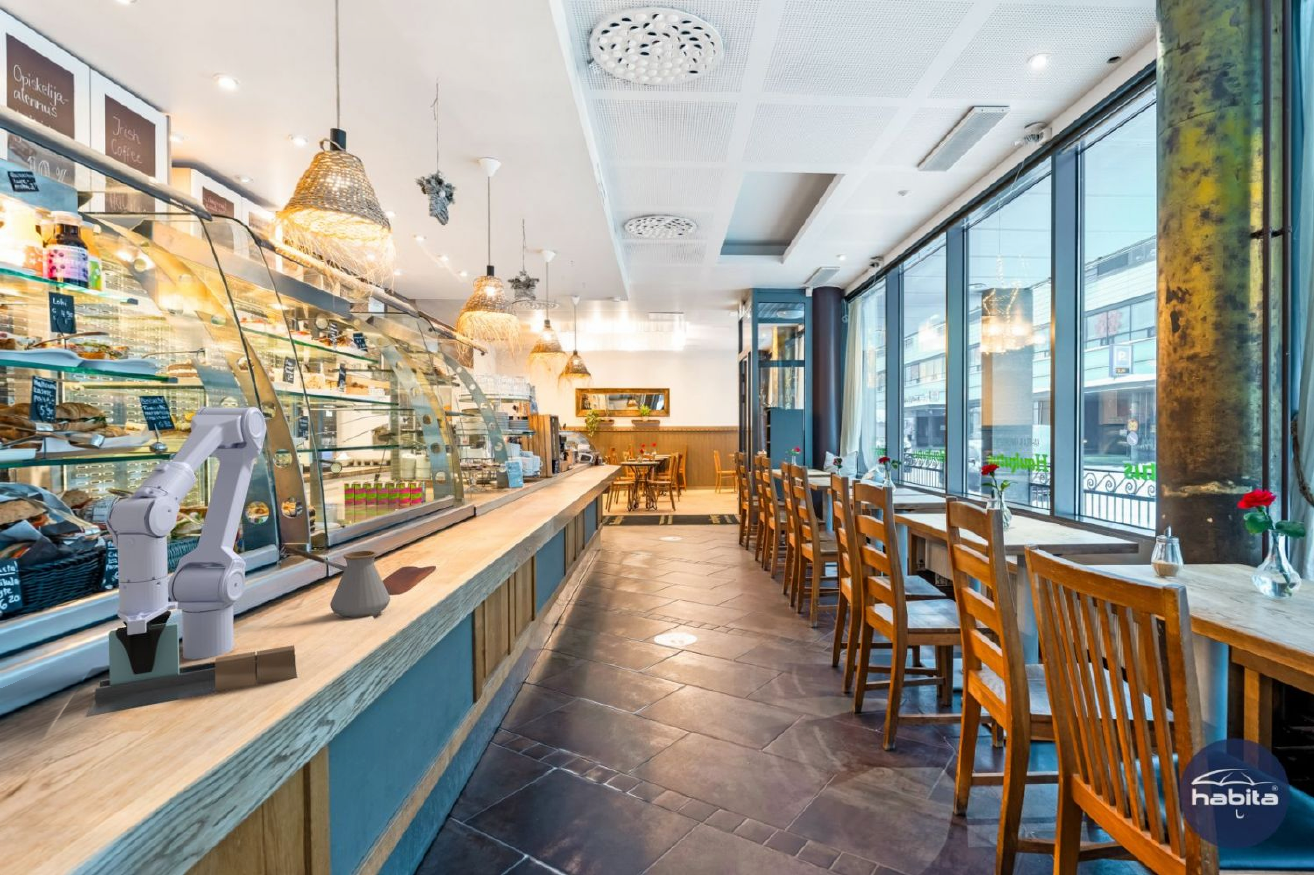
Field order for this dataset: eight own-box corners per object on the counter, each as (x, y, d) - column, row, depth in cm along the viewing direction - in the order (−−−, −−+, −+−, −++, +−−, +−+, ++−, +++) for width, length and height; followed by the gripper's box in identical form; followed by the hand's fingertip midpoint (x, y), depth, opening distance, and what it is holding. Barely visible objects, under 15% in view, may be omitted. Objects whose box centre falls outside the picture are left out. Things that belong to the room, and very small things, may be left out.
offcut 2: (257, 679, 98) (256, 651, 98) (294, 673, 101) (294, 645, 101) (257, 684, 97) (256, 655, 96) (295, 677, 99) (294, 649, 99)
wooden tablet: (401, 570, 174) (401, 564, 174) (438, 570, 174) (438, 564, 174) (359, 598, 147) (359, 591, 147) (402, 597, 148) (402, 590, 148)
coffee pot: (397, 605, 140) (396, 538, 139) (381, 622, 129) (380, 549, 128) (294, 608, 137) (293, 539, 137) (268, 626, 126) (267, 551, 125)
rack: (103, 692, 96) (102, 676, 96) (294, 660, 109) (294, 645, 109) (85, 723, 86) (85, 705, 86) (297, 683, 99) (297, 668, 99)
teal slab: (112, 690, 94) (110, 630, 94) (179, 679, 98) (178, 621, 98) (110, 694, 93) (108, 633, 93) (178, 682, 97) (177, 624, 97)
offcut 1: (216, 687, 96) (215, 657, 95) (255, 680, 98) (255, 651, 98) (215, 692, 94) (215, 662, 94) (255, 684, 96) (255, 655, 96)
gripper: (171, 585, 91) (173, 678, 92) (182, 564, 103) (183, 647, 104) (106, 592, 87) (109, 689, 88) (126, 570, 100) (128, 655, 100)
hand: (145, 667), depth 96 cm, fingers open, 4 cm apart
